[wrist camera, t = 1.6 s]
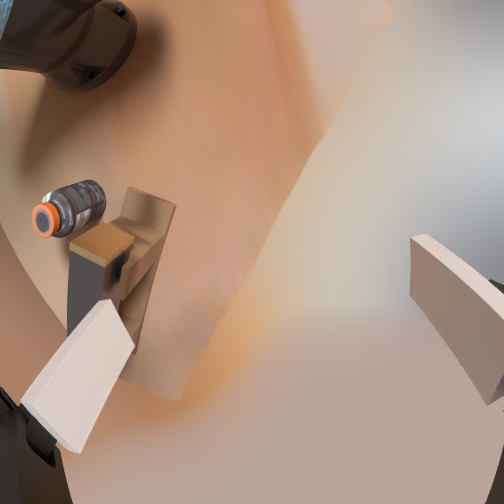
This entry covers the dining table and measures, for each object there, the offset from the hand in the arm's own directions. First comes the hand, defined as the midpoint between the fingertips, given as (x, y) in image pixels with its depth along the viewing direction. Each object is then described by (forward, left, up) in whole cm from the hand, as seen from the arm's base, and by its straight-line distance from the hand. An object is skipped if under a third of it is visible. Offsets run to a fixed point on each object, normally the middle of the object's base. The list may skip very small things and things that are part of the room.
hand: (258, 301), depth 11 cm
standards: (-13, -20, -25) cm, 35 cm away
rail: (-13, -20, -16) cm, 29 cm away
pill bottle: (-23, -10, -25) cm, 35 cm away
